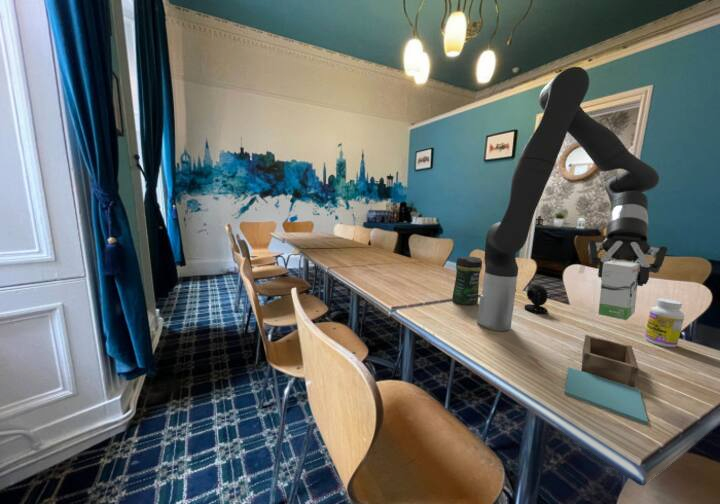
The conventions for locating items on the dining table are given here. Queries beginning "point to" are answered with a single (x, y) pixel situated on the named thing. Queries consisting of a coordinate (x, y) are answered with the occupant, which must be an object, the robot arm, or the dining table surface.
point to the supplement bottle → (665, 323)
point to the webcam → (537, 299)
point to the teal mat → (606, 394)
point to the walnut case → (609, 360)
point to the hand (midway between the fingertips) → (621, 280)
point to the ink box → (618, 289)
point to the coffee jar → (467, 280)
